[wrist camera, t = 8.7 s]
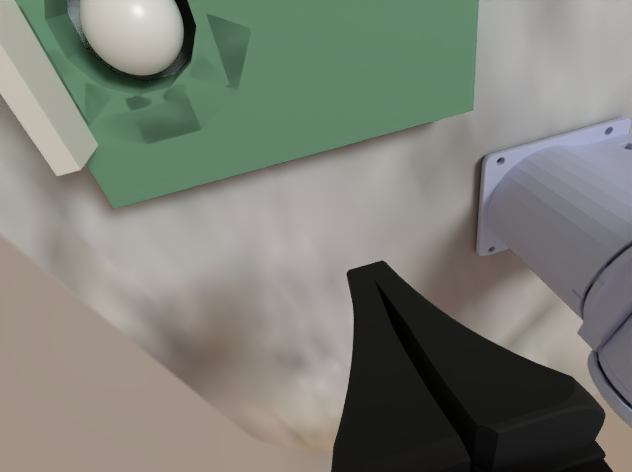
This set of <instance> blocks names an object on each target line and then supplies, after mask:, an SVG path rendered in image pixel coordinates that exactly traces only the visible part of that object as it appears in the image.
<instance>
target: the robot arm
mask: <svg viewBox="0 0 632 472" xmlns="http://www.w3.org/2000/svg"><path fill="white" fill-rule="evenodd" d="M630 126H631V120H630V119H628V118H625V117H620V118H617V119H613V120H610V121H606V122H603V123H599V124H595V125H592V126H588V127H585V128H581V129H578V130H574V131H570V132H567V133H563V134H560V135H556V136H552V137H549V138H545V139H542V140H538V141H535V142H531V143H527V144H524V145H520V146H517V147H513V148H509V149H506V150H502V151H499V152H495V153H492V154H489V155H487V156H486V157H485V158H484V159H483V162H482V171H481V186H480V200H479V214H478V229H477V243H476V253H477V254H478V255H479V256H481V257H484V256H488V255H491V254H494V253H498V252H501V251H505V250H508V249H510V250H511V251H513V252H514V253H515V254H516V255H517V256H518V257H519V258H520V259H521V260H522V261H523V262H524V263H525V264H526V265H527V266H528V267H529V268H530V269H531V270H532V271H533V272H534V273H535V274H536V275H537V276H538V277H539V278H540V279H541V280H542V281H543V282H544V283H545V284H546V285H547V286H548V287H549V288H550V289H551V290H552V291H553V292H554V293H555V294H556V295H557V296H558V297H560V298H561V299H562V300H563V301H564V302H565V303H566V304H567V305H568V306H569V307H570V308H571V309H572V310H573V311H574V312H575V313H576V314H577V315H578V316H579V317H580V318H581V319H582V320H583V324H582V326H581V328H580V329H579V331H578V334H579V335H580V337H581V338H582V339H583V340H584V341H585V342H586V343H587V344H588V345H589V346H590V347H591V348H592V349H593V350H592V351H591V352H590V354H589V357H588V364H587V365H588V369H589V373H590V375H591V378H592V380H593V382H594V384H595V385H596V387H597V389H598V390H599V392H600V394H601V395H602V397H603V398H604V400H605V401H606V402H607V404H608V405H609V406H610V407H611V408H612V410H613V411H614V412H615V413H616V414H617V415H618V416H619V417H620V418H621V419H622V420H623V421H624V422H625V423H627V424H628V425H629V426H630V427H631V428H632V135H629V134H628V132H629V129H630ZM606 129H607V130H606ZM499 158H501V160H500V161H499V162H497V160H498V159H499ZM489 248H490V249H489ZM347 278H348V283H349V288H350V293H351V298H352V303H353V311H354V337H353V352H352V362H351V370H350V377H349V384H348V389H347V394H346V399H345V404H344V409H343V413H342V418H341V422H340V425H339V429H338V433H337V436H336V440H335V443H334V447H333V460H332V470H331V472H613V471H612V470H611V468H610V467H609V466H608V464H607V463H606V462H605V461H604V459H603V458H605V456H606V455H605V453H604V451H603V450H602V448H601V447H600V446H599V445H598V443H597V442H596V441H595V439H596V437H597V435H598V433H599V431H600V429H601V427H602V425H603V423H604V419H605V412H604V410H603V408H602V407H601V406H600V405H599V404H598V402H597V401H596V400H595V399H594V398H593V397H592V395H591V394H590V393H589V392H588V391H587V390H586V389H585V388H584V387H582V386H581V385H580V384H579V383H578V382H577V381H576V380H575V379H574V378H573V377H571V376H569V375H566V374H564V373H561V372H558V371H556V370H553V369H551V368H548V367H545V366H543V365H540V364H537V363H535V362H533V361H531V360H528V359H526V358H524V357H522V356H519V355H517V354H515V353H513V352H511V351H509V350H507V349H505V348H503V347H501V346H499V345H497V344H495V343H493V342H491V341H489V340H488V339H486V338H484V337H482V336H480V335H479V334H477V333H475V332H473V331H472V330H470V329H468V328H467V327H465V326H464V325H462V324H460V323H459V322H457V321H456V320H454V319H453V318H451V317H450V316H448V315H447V314H445V313H444V312H443V311H441V310H440V309H439V308H437V307H436V306H434V305H433V304H432V303H431V302H429V301H428V300H427V299H425V298H424V297H423V296H422V295H421V294H419V293H418V292H417V291H416V290H414V289H413V288H412V287H411V286H410V285H409V284H408V283H406V282H405V281H404V280H403V279H402V278H401V277H400V276H399V275H398V274H397V273H396V272H395V271H394V270H393V269H392V268H391V267H390V266H389V265H388V264H387V263H386V262H384V261H379V262H375V263H372V264H368V265H365V266H361V267H358V268H354V269H351V270H349V271H348V272H347Z"/></svg>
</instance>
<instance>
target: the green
mask: <svg viewBox="0 0 632 472" xmlns="http://www.w3.org/2000/svg"><path fill="white" fill-rule="evenodd" d="M478 2H479V0H188V3H189V6H190V9H191V12H192V15H193V18H194V21H195V24H196V33H195V40H194V47H193V53H192V56H191V57H190V58H189V60H188V61H187V62H186V63H185V64H184V65H183V66H182V68H181V69H180V70H179V71H178V72H177V73H176V74H174V75H171V76H167V77H163V78H159V79H155V80H151V81H148V82H147V81H143V80H139V79H136V78H132V77H128V76H124V75H121V74H117V73H114V72H113V71H112V70H111V69H109V68H108V67H107V66H106V65H105V64H103V63H102V62H101V61H100V60H99V59H97V58H96V57H95V56H94V55H92V54H91V53H90V52H89V51H88V50H86V49H85V47H84V45H83V43H82V41H81V39H80V37H79V35H78V33H77V31H76V29H75V27H74V25H73V23H72V22H71V20H70V18H69V16H68V14H67V0H0V94H1V95H2V97H3V98H4V100H5V101H6V103H7V104H8V106H9V107H10V108H11V110H12V111H13V113H14V114H15V116H16V117H17V119H18V120H19V122H20V123H21V125H22V126H23V127H24V129H25V130H26V132H27V133H28V135H29V136H30V138H31V139H32V141H33V142H34V144H35V145H36V146H37V148H38V149H39V151H40V152H41V154H42V155H43V157H44V158H45V160H46V161H47V163H48V164H49V165H50V167H51V168H52V170H53V171H54V173H55V174H56V176H60V175H64V174H68V173H72V172H75V171H79V170H81V169H82V168H83V166H84V165H85V163H86V165H87V167H88V168H89V170H90V172H91V173H92V175H93V176H94V178H95V180H96V181H97V183H98V184H99V186H100V188H101V189H102V191H103V193H104V194H105V196H106V197H107V199H108V201H109V202H110V204H111V205H112V207H113V209H115V208H118V207H122V206H126V205H129V204H133V203H136V202H140V201H144V200H147V199H151V198H155V197H158V196H162V195H166V194H169V193H173V192H177V191H180V190H184V189H188V188H191V187H195V186H199V185H202V184H206V183H210V182H213V181H217V180H220V179H224V178H228V177H231V176H235V175H239V174H242V173H246V172H250V171H253V170H257V169H261V168H264V167H268V166H272V165H275V164H279V163H283V162H286V161H290V160H294V159H297V158H301V157H305V156H308V155H312V154H315V153H319V152H323V151H326V150H330V149H334V148H337V147H341V146H345V145H348V144H352V143H356V142H359V141H363V140H367V139H370V138H374V137H378V136H381V135H385V134H389V133H392V132H396V131H399V130H403V129H407V128H410V127H414V126H418V125H421V124H425V123H429V122H432V121H436V120H440V119H443V118H447V117H451V116H454V115H458V114H462V113H465V112H469V111H473V103H474V82H475V62H476V42H477V22H478Z"/></svg>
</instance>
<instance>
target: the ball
mask: <svg viewBox="0 0 632 472" xmlns="http://www.w3.org/2000/svg"><path fill="white" fill-rule="evenodd" d="M79 15H80V22H81V26H82V29H83V32H84V34H85V36H86V38H87V40H88V42H89V44H90V45H91V47H92V48H93V49H94V51H95V52H96V53H97V54H98V55H99V56H100V57H101V58H102V59H103V60H104V61H106V62H107V63H108V64H110V65H111V66H113V67H114V68H116V69H118V70H120V71H123V72H126V73H129V74H133V75H152V74H156V73H158V72H161V71H163V70H165V69H166V68H168V67H169V66H170V65H171V64H172V63H173V62H174V61H175V60H176V58H177V57H178V55H179V53H180V50H181V48H182V44H183V39H184V27H183V21H182V17H181V14H180V11H179V9H178V6H177V4H176V2H175V0H80V5H79Z"/></svg>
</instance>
